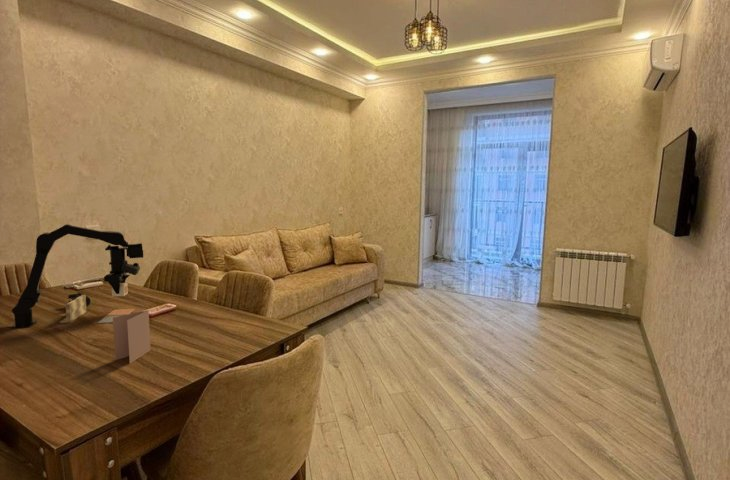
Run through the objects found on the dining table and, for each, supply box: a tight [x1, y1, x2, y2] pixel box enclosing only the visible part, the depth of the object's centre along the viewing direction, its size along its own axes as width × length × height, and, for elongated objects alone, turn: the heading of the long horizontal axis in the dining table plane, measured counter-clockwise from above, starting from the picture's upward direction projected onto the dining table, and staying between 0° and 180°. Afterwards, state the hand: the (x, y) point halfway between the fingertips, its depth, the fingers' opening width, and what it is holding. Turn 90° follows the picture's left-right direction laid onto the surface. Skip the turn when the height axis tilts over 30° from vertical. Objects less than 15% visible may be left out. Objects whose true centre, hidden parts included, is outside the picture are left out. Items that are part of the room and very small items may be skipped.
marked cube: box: [110, 282, 129, 297], centre depth 184 cm, size 5×5×5 cm
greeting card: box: [112, 309, 152, 364], centre depth 137 cm, size 11×7×15 cm, turn 141°
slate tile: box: [97, 315, 122, 325], centre depth 176 cm, size 9×9×1 cm
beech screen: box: [59, 294, 88, 324], centre depth 178 cm, size 16×4×8 cm, turn 14°
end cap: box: [67, 291, 91, 308], centre depth 192 cm, size 10×7×7 cm
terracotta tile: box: [106, 308, 136, 316], centre depth 185 cm, size 9×9×1 cm
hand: (119, 292), depth 184 cm, fingers closed on marked cube, 5 cm apart
